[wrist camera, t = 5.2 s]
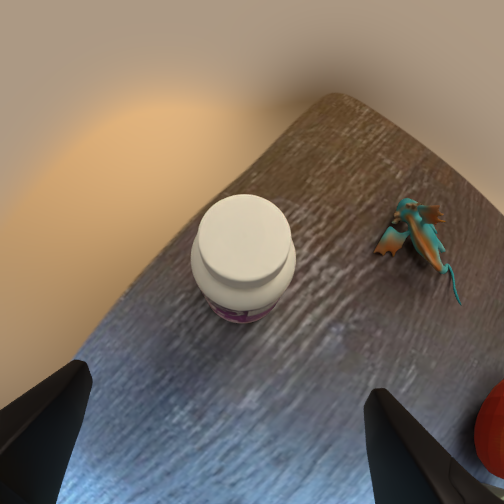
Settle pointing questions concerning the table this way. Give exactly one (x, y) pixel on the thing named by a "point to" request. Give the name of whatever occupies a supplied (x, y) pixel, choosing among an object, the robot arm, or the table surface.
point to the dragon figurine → (417, 234)
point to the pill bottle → (243, 257)
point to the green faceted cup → (495, 490)
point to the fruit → (491, 431)
